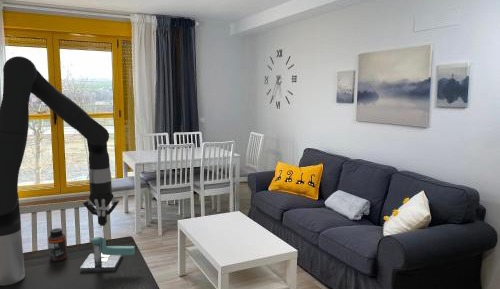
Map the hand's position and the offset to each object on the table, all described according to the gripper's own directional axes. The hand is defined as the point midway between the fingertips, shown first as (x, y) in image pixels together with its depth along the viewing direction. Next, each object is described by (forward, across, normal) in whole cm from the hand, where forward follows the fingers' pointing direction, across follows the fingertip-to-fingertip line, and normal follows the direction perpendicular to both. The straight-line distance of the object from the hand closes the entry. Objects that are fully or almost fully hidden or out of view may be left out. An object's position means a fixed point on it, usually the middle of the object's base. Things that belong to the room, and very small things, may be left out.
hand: (102, 225), depth 148 cm
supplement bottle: (+14, -18, +3) cm, 24 cm away
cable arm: (+8, +5, -7) cm, 12 cm away
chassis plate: (+14, 0, -2) cm, 14 cm away
